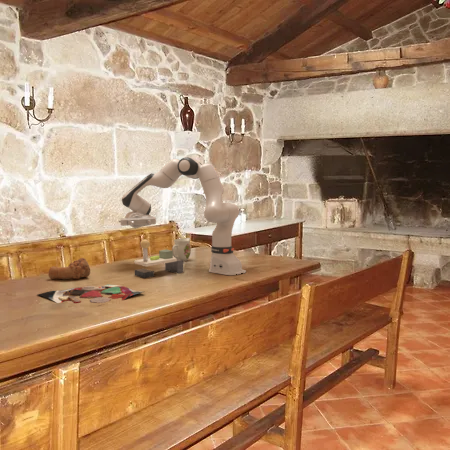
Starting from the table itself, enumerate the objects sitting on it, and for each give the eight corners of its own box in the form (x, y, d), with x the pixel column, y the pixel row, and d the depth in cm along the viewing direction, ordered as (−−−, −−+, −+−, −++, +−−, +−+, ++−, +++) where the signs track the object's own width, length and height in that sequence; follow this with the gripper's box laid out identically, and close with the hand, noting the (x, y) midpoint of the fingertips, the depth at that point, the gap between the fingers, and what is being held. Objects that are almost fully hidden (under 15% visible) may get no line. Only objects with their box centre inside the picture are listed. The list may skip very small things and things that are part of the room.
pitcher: (165, 261, 296) (165, 240, 294) (182, 257, 311) (182, 237, 309) (179, 263, 290) (179, 241, 288) (196, 259, 305) (196, 238, 304)
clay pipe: (81, 289, 240) (96, 274, 253) (77, 270, 235) (93, 257, 248) (49, 285, 245) (66, 271, 258) (45, 267, 240) (62, 254, 253)
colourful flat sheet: (102, 283, 238) (102, 280, 238) (145, 296, 215) (145, 292, 215) (36, 296, 212) (36, 292, 212) (78, 312, 189) (78, 307, 189)
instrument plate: (164, 258, 269) (163, 235, 268) (176, 261, 261) (176, 237, 259) (134, 263, 256) (133, 238, 254) (146, 266, 247) (145, 241, 246)
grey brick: (183, 272, 264) (183, 260, 264) (145, 278, 248) (145, 265, 247) (170, 269, 273) (170, 257, 272) (133, 274, 257) (133, 262, 256)
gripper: (117, 215, 271) (122, 217, 259) (152, 214, 279) (158, 216, 266) (118, 226, 272) (122, 229, 259) (152, 224, 280) (158, 227, 267)
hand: (140, 222), depth 263 cm, fingers open, 8 cm apart
